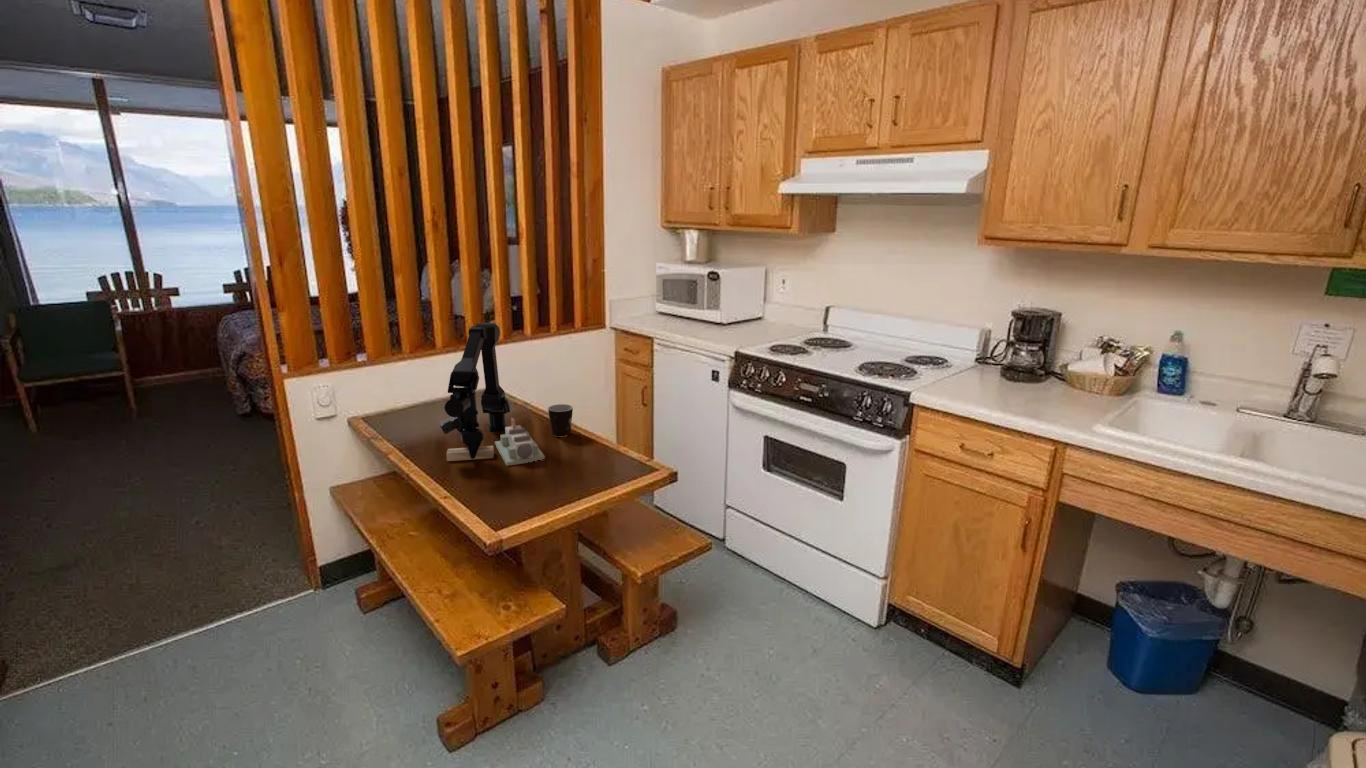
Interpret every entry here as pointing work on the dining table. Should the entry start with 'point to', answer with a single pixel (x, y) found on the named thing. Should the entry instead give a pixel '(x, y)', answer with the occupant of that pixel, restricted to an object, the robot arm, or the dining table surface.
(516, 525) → the dining table surface
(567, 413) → the coffee mug
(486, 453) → the tan rectangular block
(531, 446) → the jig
